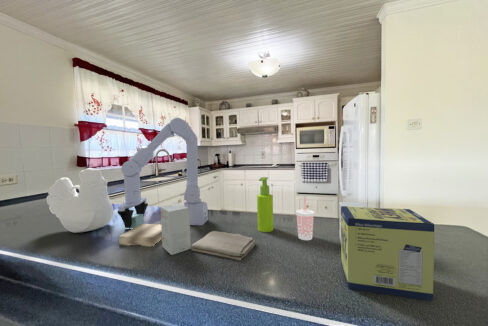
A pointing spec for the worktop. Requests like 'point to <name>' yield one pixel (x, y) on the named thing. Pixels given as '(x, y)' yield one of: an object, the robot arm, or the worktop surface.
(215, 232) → the washcloth
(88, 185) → the decorative rooster
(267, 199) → the soap dispenser
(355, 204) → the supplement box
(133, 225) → the teal block
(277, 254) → the worktop surface
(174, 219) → the small box
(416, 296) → the protein box
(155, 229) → the birch plinth
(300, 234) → the beverage cup
